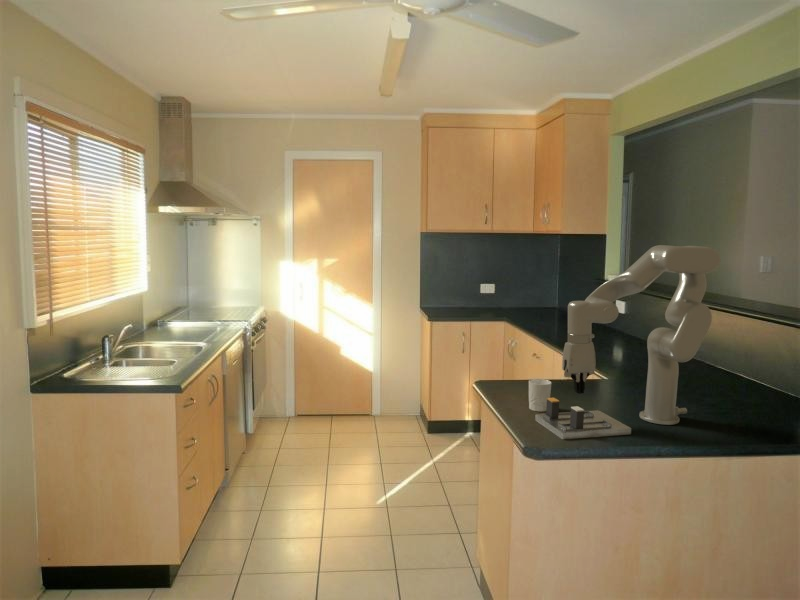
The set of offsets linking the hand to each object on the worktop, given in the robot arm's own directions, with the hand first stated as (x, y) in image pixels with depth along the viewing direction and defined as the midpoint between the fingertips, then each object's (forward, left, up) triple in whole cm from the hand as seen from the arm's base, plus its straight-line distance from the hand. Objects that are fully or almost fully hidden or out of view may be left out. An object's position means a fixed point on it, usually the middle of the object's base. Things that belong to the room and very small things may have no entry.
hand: (579, 392), depth 195 cm
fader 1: (+9, 0, -8) cm, 12 cm away
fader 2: (+6, +10, -8) cm, 14 cm away
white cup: (+6, -15, -10) cm, 19 cm away
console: (+1, +5, -10) cm, 11 cm away
